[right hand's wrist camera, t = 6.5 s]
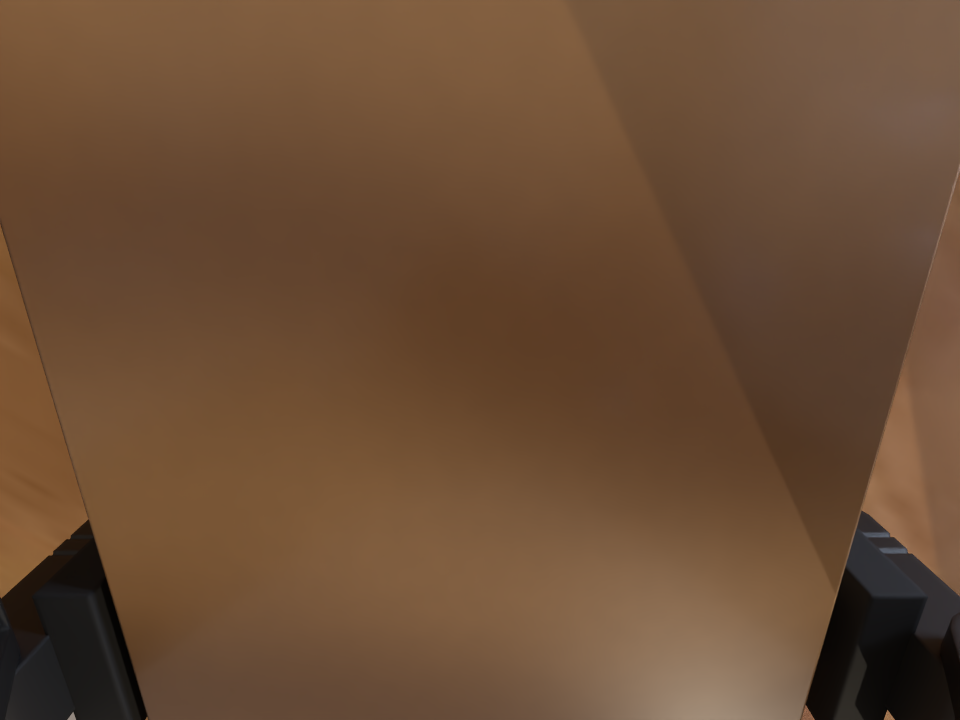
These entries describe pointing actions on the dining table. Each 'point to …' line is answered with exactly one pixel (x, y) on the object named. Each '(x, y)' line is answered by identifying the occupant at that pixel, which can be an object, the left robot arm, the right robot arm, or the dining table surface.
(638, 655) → the wide beam
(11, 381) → the dining table surface
